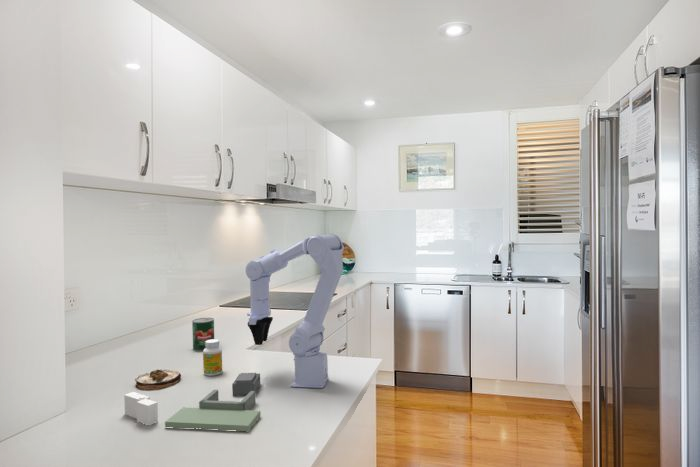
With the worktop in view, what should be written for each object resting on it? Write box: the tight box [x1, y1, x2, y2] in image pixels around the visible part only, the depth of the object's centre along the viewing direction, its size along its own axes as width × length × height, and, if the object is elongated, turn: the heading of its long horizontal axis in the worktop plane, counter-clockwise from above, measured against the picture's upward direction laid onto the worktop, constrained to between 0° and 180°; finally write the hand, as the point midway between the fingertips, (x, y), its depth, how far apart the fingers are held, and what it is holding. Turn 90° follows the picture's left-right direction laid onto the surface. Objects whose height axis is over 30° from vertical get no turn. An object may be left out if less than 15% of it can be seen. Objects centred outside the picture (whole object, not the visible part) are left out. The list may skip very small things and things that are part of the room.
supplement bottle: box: [202, 338, 223, 377], centre depth 140 cm, size 6×6×10 cm
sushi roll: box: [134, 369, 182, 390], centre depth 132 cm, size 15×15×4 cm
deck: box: [164, 389, 261, 433], centre depth 109 cm, size 20×16×3 cm
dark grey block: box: [231, 372, 261, 397], centre depth 125 cm, size 6×8×4 cm
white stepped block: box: [123, 391, 159, 426], centre depth 107 cm, size 15×11×6 cm
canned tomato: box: [191, 317, 215, 353], centre depth 168 cm, size 8×8×11 cm
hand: (261, 342), depth 137 cm, fingers open, 3 cm apart
